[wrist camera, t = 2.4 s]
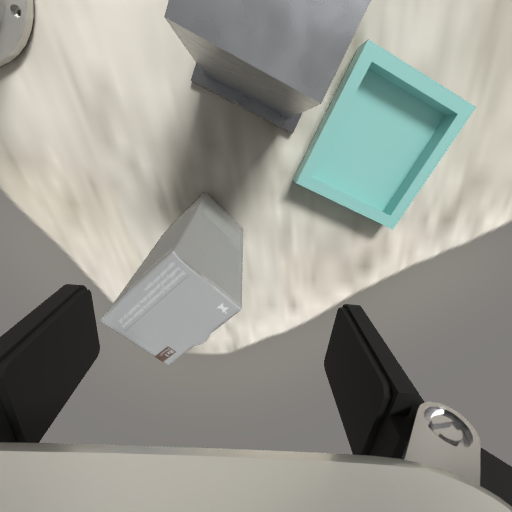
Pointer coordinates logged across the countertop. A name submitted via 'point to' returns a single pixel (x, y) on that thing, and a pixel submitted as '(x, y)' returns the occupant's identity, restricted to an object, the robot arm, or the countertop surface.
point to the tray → (381, 136)
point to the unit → (267, 50)
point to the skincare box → (183, 284)
